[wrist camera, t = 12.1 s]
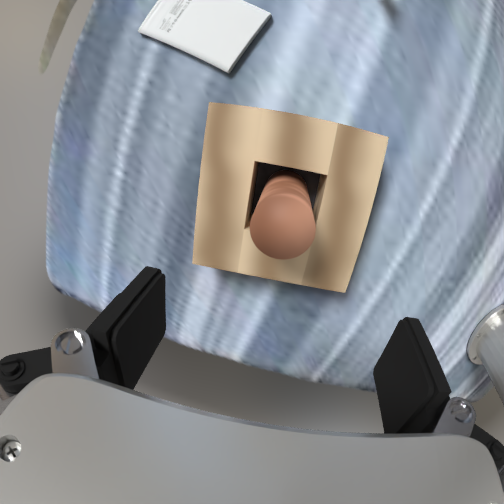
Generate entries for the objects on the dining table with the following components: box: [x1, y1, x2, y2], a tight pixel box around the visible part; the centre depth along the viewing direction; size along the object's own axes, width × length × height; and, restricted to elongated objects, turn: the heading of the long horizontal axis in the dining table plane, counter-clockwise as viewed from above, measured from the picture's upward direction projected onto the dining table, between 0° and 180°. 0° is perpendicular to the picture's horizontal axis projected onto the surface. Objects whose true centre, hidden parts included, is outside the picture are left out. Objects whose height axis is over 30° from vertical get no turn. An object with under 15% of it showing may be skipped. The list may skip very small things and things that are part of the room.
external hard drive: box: [138, 0, 272, 73], centre depth 24 cm, size 2×8×12 cm
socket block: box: [192, 102, 389, 293], centre depth 29 cm, size 16×16×5 cm
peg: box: [250, 170, 316, 260], centre depth 25 cm, size 4×4×12 cm
